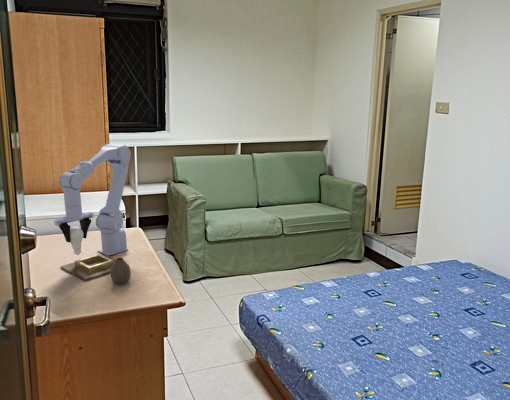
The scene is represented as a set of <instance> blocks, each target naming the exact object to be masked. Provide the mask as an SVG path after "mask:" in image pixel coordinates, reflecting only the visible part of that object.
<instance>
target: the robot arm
mask: <svg viewBox="0 0 510 400" xmlns="http://www.w3.org/2000/svg"><path fill="white" fill-rule="evenodd" d="M131 156H132V153H131V150H130V148H129V146H127V145H126V144H125V145H124V144H121V145H120V144H112V143H111V144H110V143H107V144H104V145H103V146H102V147H101V148H100V150H99V151H98V152H97V153H96V154H95V155H93V156H92V158H91V159H89V160H88V161H87V160H84V161H80V162H79V163H78V165H76V166H75V167H73V168H71V169H70V171H68V172H67V171H66V172H63V173H62V174H61V175H60V178H59V180H58V184H59V186H60V187H61V190H62V192H63V200H64V211H65V216H62V217H60V218H56V219H54V220H53V221H54V225H55V226H56V227H58V228H59V229H60V231H61V232H62V235H64V239H65V242H67V243H70V228H71V227H72V226H71V225H69V224H70V223H73V222H77V221H78V222H79V227H80V228H81V229H82V231H83V233H84V236H83V239H87V237H88V231H89V228H90V225H91V224H92V219H93V218H95V217H94V212H92V211H87V212H83V209H82V196H81V188H82V186H83V184H84V182H85V181H86V179H89V177H91V176H92V175H93V174H94V173H95V169H96V168H97V167H99V166H100V165H102V164H103V163H105V162H108V164H110V165H111V166H112V168H113V171H112V177H111V181H110V185H109V189H108V193H107V198H106V202H105V206H104V207H103V208H101V209H100V210H99V213H98V215H97V216H96V219H95V226H96V227H97V229H98V231H99V232H100V241H101V248H100V249H98V250H97V252H98V253H101V254H104V255H107V256H109V257H110V256H112V255H115V254H119V253H122V252H126V251H128V250H129V248H128V246H127V234H126V232H125V230H124V228H123V225H124V221H123V219H124V214H123V212H122V211H121V209H120V206H121V201H122V196H123V193H124V189H125V183H126V180H127V177H128V176H127V175H128V171H129V163H130V160H131Z"/></svg>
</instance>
